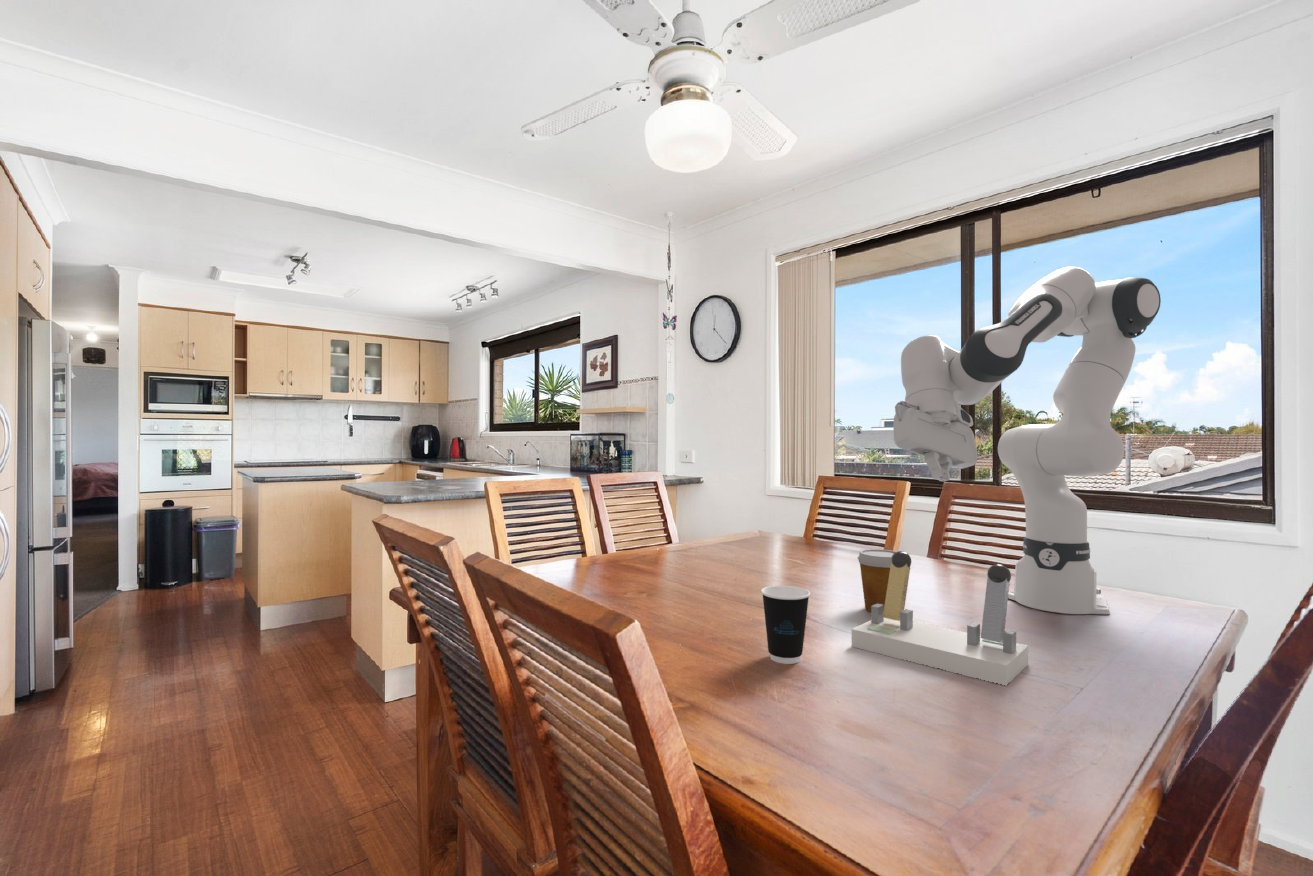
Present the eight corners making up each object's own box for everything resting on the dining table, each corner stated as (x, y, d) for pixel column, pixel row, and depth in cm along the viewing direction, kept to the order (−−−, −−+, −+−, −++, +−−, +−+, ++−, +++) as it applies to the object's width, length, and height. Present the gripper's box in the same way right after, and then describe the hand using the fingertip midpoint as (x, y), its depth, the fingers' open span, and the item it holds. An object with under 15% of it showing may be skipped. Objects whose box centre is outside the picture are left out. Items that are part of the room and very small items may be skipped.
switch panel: (881, 631, 115) (882, 598, 115) (1028, 664, 99) (1028, 626, 99) (851, 646, 107) (851, 611, 107) (1006, 686, 90) (1006, 644, 90)
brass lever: (887, 619, 111) (897, 552, 114) (905, 623, 109) (915, 554, 112) (879, 616, 109) (889, 548, 112) (898, 620, 107) (908, 550, 110)
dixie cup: (779, 670, 96) (780, 599, 96) (751, 654, 103) (751, 588, 103) (820, 663, 99) (820, 594, 99) (790, 647, 106) (790, 583, 106)
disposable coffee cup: (913, 617, 124) (913, 557, 124) (865, 617, 124) (865, 557, 124) (895, 604, 133) (895, 548, 133) (851, 604, 134) (851, 548, 134)
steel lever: (983, 639, 100) (991, 565, 103) (1006, 644, 98) (1014, 568, 101) (977, 637, 98) (985, 560, 101) (1000, 642, 96) (1009, 563, 99)
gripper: (909, 391, 113) (918, 462, 108) (977, 420, 123) (990, 486, 117) (881, 404, 118) (889, 472, 113) (949, 430, 128) (959, 494, 122)
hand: (941, 479), depth 115 cm, fingers closed
